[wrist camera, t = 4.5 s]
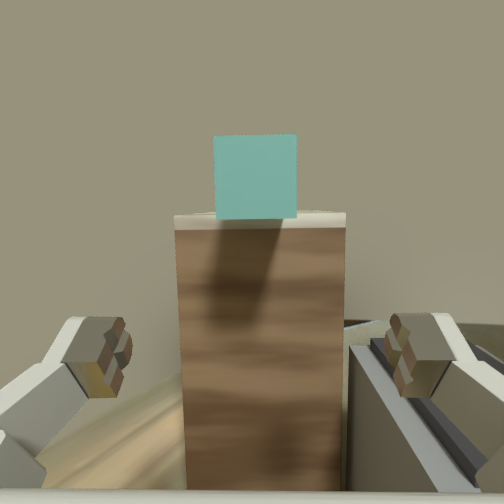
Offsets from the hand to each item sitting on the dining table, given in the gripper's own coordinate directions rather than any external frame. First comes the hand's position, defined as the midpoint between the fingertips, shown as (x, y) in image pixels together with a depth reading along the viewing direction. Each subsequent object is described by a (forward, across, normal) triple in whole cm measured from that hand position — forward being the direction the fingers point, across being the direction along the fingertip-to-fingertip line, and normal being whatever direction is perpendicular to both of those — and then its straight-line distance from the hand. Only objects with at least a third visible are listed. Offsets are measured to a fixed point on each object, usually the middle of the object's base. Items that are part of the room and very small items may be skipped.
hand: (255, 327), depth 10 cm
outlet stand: (+8, 0, +31) cm, 32 cm away
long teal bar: (+16, 0, +6) cm, 17 cm away
